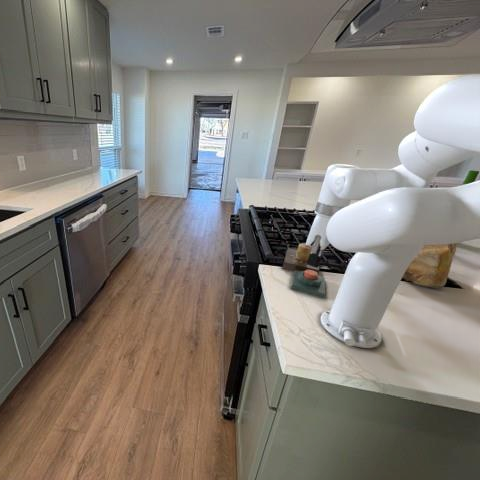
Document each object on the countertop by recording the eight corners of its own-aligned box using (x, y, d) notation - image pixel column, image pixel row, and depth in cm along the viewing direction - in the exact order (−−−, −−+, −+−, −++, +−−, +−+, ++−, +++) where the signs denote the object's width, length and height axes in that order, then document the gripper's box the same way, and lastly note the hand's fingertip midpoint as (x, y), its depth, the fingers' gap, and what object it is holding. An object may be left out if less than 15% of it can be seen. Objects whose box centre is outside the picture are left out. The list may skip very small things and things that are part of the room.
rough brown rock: (388, 257, 104) (399, 223, 99) (447, 271, 92) (463, 232, 87) (374, 278, 91) (385, 239, 85) (441, 296, 79) (459, 253, 73)
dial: (293, 257, 94) (297, 244, 91) (298, 254, 96) (301, 241, 94) (306, 262, 91) (310, 248, 89) (310, 258, 93) (314, 245, 91)
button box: (323, 298, 76) (326, 288, 74) (290, 289, 80) (293, 279, 79) (323, 281, 85) (326, 272, 83) (293, 274, 89) (296, 265, 87)
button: (316, 281, 79) (317, 276, 78) (303, 277, 80) (304, 273, 80) (316, 276, 82) (318, 271, 81) (304, 273, 83) (305, 268, 83)
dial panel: (316, 277, 87) (319, 270, 85) (281, 269, 92) (283, 261, 90) (317, 261, 98) (319, 254, 97) (286, 254, 103) (288, 247, 102)
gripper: (323, 202, 79) (308, 253, 87) (307, 211, 70) (291, 268, 77) (352, 207, 74) (332, 262, 82) (339, 218, 65) (318, 279, 72)
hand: (312, 265), depth 80 cm, fingers closed
